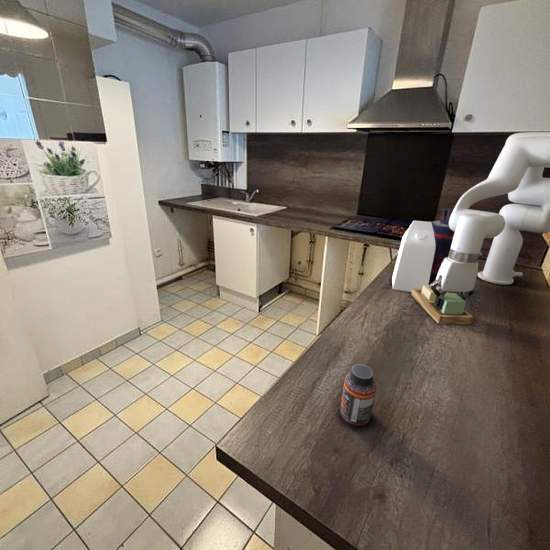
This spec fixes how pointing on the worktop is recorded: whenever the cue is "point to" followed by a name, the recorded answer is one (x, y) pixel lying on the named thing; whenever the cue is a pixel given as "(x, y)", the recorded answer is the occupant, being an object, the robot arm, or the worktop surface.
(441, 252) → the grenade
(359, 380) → the supplement bottle
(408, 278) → the milk
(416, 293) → the divided wooden tray
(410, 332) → the worktop surface
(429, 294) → the tan block
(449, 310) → the green block
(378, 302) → the worktop surface
